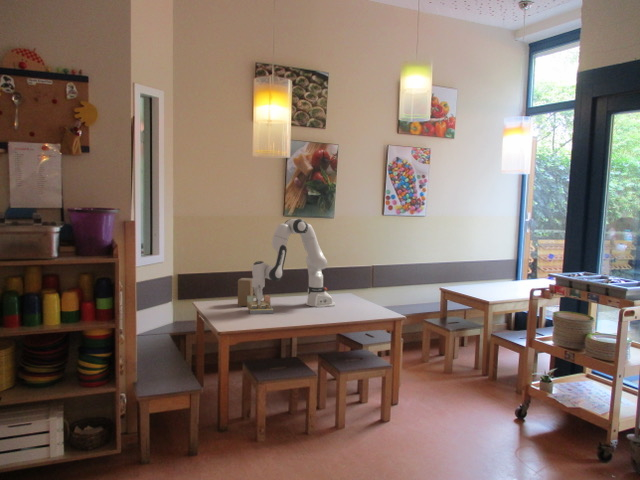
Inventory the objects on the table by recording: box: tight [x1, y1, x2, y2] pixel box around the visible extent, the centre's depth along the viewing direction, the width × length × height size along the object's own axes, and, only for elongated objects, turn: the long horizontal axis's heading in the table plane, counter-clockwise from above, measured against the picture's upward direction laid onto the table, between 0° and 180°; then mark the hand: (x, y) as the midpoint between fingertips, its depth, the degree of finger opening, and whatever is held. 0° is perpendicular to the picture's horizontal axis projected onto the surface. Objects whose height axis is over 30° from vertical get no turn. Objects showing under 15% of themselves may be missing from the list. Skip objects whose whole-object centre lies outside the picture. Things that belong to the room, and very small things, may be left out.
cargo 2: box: [263, 294, 271, 302], centre depth 351 cm, size 4×4×4 cm
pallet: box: [247, 300, 272, 311], centre depth 350 cm, size 16×6×5 cm, turn 103°
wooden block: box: [237, 277, 254, 307], centre depth 370 cm, size 10×10×20 cm
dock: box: [248, 304, 274, 315], centre depth 350 cm, size 16×12×3 cm
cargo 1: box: [247, 295, 254, 302], centre depth 348 cm, size 4×4×4 cm
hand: (258, 303), depth 349 cm, fingers open, 8 cm apart
